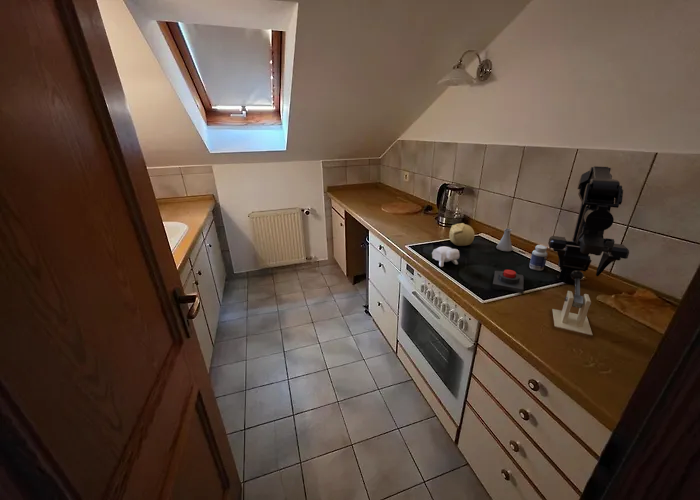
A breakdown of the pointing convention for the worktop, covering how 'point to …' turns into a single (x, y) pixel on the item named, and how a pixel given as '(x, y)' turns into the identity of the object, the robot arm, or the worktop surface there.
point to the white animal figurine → (445, 255)
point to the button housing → (508, 282)
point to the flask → (505, 241)
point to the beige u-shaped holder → (573, 316)
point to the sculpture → (461, 234)
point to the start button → (509, 273)
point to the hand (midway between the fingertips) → (578, 272)
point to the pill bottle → (538, 258)
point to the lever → (577, 288)
